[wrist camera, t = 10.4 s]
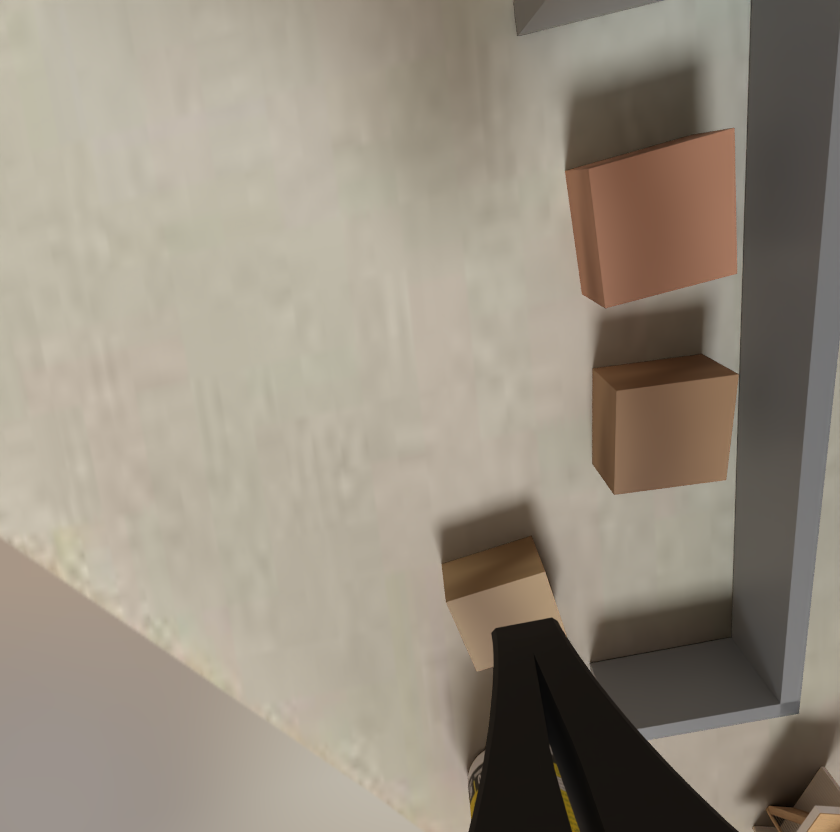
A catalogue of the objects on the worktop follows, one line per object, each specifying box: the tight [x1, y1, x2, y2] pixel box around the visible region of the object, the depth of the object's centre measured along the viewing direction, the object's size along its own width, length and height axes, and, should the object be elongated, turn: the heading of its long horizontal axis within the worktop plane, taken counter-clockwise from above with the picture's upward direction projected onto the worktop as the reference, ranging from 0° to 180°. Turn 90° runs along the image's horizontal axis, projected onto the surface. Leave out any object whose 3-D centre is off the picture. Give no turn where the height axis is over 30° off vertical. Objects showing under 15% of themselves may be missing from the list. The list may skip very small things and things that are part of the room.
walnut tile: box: [592, 354, 739, 495], centre depth 19 cm, size 4×4×2 cm
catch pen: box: [514, 0, 840, 740], centre depth 19 cm, size 8×27×4 cm, turn 12°
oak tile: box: [442, 536, 567, 672], centre depth 22 cm, size 4×4×2 cm
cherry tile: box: [565, 128, 737, 308], centre depth 16 cm, size 4×4×2 cm
